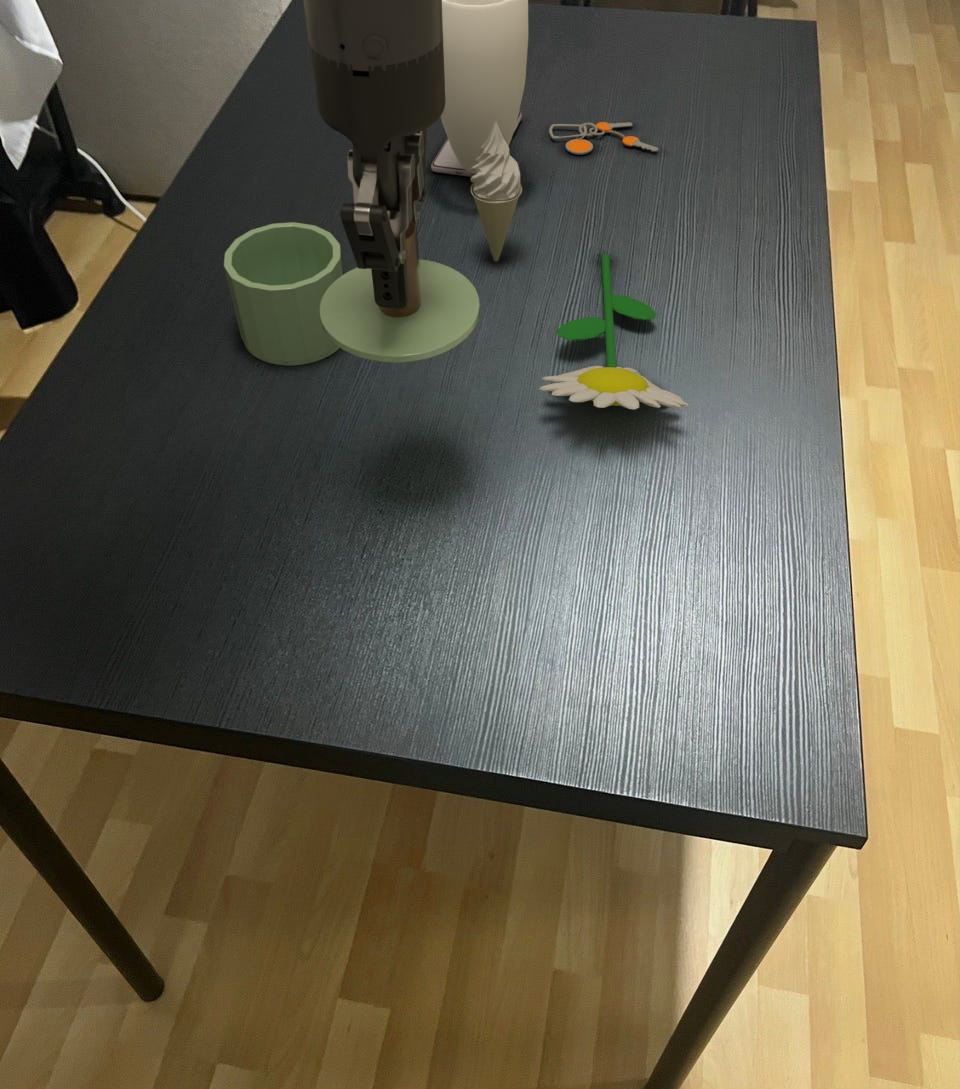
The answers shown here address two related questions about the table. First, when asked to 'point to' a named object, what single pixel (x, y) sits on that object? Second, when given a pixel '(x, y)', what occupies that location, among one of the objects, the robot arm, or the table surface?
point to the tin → (283, 290)
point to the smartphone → (453, 159)
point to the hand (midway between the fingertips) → (397, 288)
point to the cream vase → (482, 71)
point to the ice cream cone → (496, 189)
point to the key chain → (586, 146)
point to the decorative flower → (609, 360)
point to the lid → (401, 312)
